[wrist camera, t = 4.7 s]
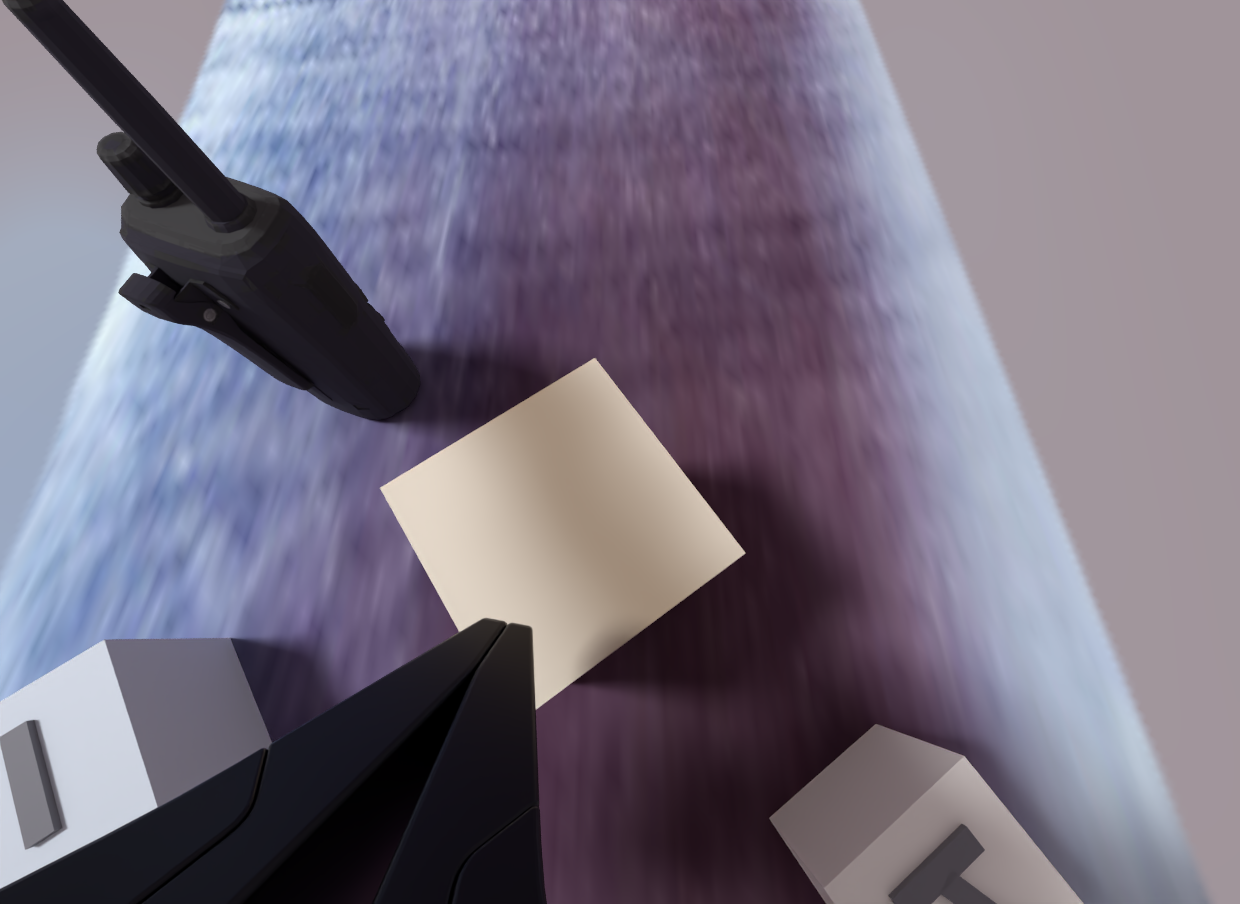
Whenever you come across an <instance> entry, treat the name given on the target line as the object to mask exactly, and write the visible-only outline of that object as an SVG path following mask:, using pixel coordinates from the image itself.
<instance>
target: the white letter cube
mask: <svg viewBox="0 0 1240 904" xmlns="http://www.w3.org/2000/svg"><path fill="white" fill-rule="evenodd" d="M271 743H272V741H271V739H270V736H269V734H268V731H267V729H266V726H265V724H264V721H263V719H262V716H261V714H260V711H259V709H258V706H257V704H256V701H255V699H254V696H253V694H252V691H251V689H250V686H249V684H248V681H247V679H246V676H245V674H244V671H243V669H242V666H241V664H240V661H239V659H238V656H237V654H236V651H235V649H234V646H233V644H232V641H231V639H230V638H193V639H115V640H103V641H101V642H100V643H98V644H96V645H95V646H93V647H91V648H89V649H88V650H86V651H84V652H83V653H81V654H79V655H78V656H76V657H74V658H73V659H71V660H69V661H68V662H66V663H64V664H63V665H61V666H59V667H58V668H56V669H54V670H53V671H51V672H49V673H47V674H46V675H44V676H42V677H41V678H39V679H37V680H36V681H34V682H32V683H31V684H29V685H27V686H26V687H24V688H22V689H21V690H19V691H17V692H16V693H14V694H12V695H11V696H9V697H7V698H6V699H4V700H2V701H0V888H2V887H4V886H6V885H8V884H10V883H12V882H14V881H16V880H18V879H20V878H22V877H24V876H26V875H28V874H30V873H32V872H34V871H36V870H38V869H40V868H42V867H43V866H45V865H47V864H49V863H51V862H53V861H55V860H57V859H59V858H61V857H63V856H65V855H67V854H69V853H71V852H73V851H75V850H77V849H79V848H81V847H83V846H85V845H86V844H88V843H90V842H92V841H94V840H96V839H98V838H100V837H102V836H104V835H106V834H108V833H110V832H112V831H114V830H115V829H117V828H119V827H121V826H123V825H125V824H127V823H129V822H131V821H132V820H134V819H136V818H138V817H140V816H142V815H144V814H146V813H148V812H149V811H151V810H153V809H155V808H157V807H159V806H161V805H163V804H165V803H166V802H168V801H170V800H172V799H174V798H176V797H178V796H179V795H181V794H183V793H185V792H186V791H188V790H190V789H192V788H193V787H195V786H197V785H199V784H200V783H202V782H204V781H206V780H207V779H209V778H211V777H213V776H215V775H216V774H218V773H220V772H222V771H223V770H225V769H227V768H229V767H230V766H232V765H234V764H235V763H237V762H239V761H241V760H242V759H244V758H246V757H247V756H249V755H251V754H252V753H254V752H256V751H257V750H259V749H261V748H266V749H267V750H268V747H269V745H270V744H271Z"/></svg>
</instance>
